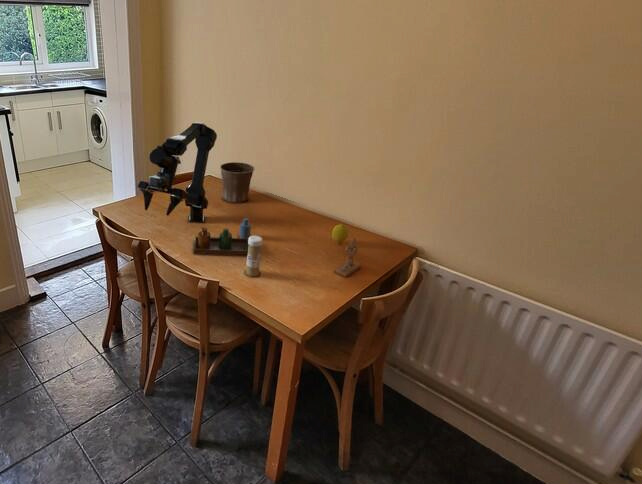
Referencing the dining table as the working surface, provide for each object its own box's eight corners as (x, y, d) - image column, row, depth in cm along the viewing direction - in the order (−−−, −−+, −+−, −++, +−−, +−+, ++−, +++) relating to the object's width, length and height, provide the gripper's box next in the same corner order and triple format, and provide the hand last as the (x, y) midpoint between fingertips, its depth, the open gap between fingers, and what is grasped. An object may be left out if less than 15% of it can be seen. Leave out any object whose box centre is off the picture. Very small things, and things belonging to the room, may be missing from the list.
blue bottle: (238, 234, 166) (240, 216, 163) (249, 235, 166) (251, 217, 162) (239, 239, 162) (240, 221, 159) (250, 240, 162) (252, 221, 158)
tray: (195, 241, 161) (195, 236, 160) (254, 243, 159) (255, 238, 158) (193, 253, 152) (193, 249, 151) (257, 256, 150) (257, 251, 149)
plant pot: (254, 204, 195) (256, 172, 188) (220, 204, 195) (221, 172, 188) (249, 192, 209) (251, 162, 202) (217, 192, 210) (218, 162, 203)
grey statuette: (348, 263, 145) (354, 233, 140) (359, 267, 142) (365, 237, 137) (335, 272, 140) (341, 241, 135) (346, 277, 137) (352, 245, 132)
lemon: (345, 240, 161) (349, 222, 157) (346, 247, 156) (349, 228, 153) (330, 238, 162) (334, 220, 159) (330, 245, 158) (334, 226, 154)
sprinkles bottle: (243, 273, 139) (245, 238, 134) (250, 268, 143) (253, 233, 137) (255, 278, 137) (258, 242, 131) (261, 272, 140) (265, 237, 134)
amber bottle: (198, 243, 158) (198, 226, 155) (210, 243, 158) (210, 226, 155) (197, 249, 154) (198, 231, 151) (209, 249, 154) (210, 231, 151)
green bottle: (219, 244, 158) (219, 226, 155) (231, 244, 157) (232, 227, 154) (219, 249, 154) (219, 232, 150) (231, 250, 153) (232, 232, 150)
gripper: (135, 161, 147) (124, 203, 146) (181, 170, 139) (169, 214, 138) (150, 170, 157) (139, 209, 156) (193, 178, 149) (182, 219, 148)
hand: (156, 212), depth 150 cm, fingers open, 9 cm apart
